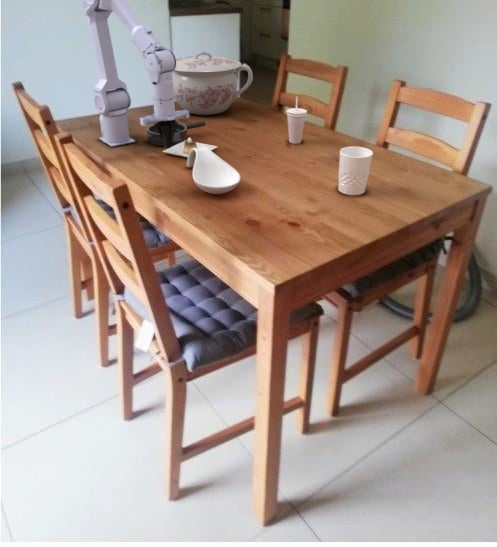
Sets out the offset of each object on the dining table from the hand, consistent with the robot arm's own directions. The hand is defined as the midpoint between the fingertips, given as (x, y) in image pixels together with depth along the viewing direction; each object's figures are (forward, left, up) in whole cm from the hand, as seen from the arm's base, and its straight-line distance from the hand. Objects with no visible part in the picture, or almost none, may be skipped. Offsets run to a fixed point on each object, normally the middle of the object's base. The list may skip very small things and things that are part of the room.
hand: (167, 146), depth 142 cm
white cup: (+48, +26, -3) cm, 54 cm away
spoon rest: (+22, 0, -3) cm, 22 cm away
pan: (-13, +8, -3) cm, 16 cm away
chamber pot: (-36, +37, -3) cm, 51 cm away
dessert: (0, +8, -3) cm, 8 cm away
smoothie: (+11, +40, -3) cm, 41 cm away
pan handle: (-13, +17, -1) cm, 22 cm away
